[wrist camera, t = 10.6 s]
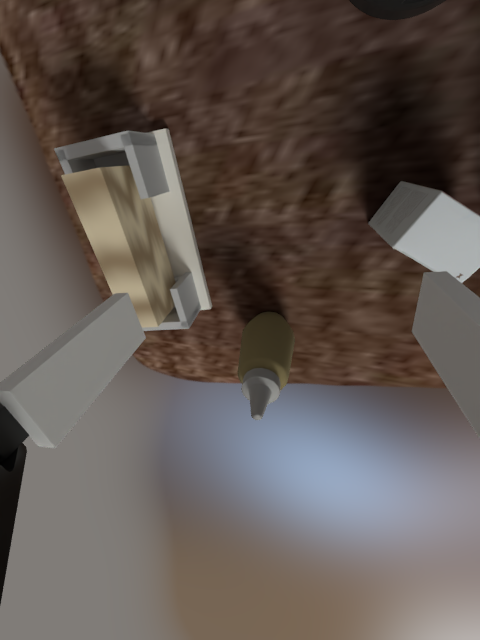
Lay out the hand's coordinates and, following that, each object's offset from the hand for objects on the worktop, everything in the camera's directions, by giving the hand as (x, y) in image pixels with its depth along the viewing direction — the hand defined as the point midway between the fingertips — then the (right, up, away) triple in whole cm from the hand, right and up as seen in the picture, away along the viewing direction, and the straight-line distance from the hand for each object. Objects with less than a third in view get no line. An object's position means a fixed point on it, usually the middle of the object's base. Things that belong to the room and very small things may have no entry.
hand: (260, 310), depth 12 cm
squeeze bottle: (+4, -1, +32) cm, 32 cm away
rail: (-14, +10, +25) cm, 30 cm away
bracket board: (-13, +12, +27) cm, 32 cm away
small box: (+20, +12, +20) cm, 31 cm away
